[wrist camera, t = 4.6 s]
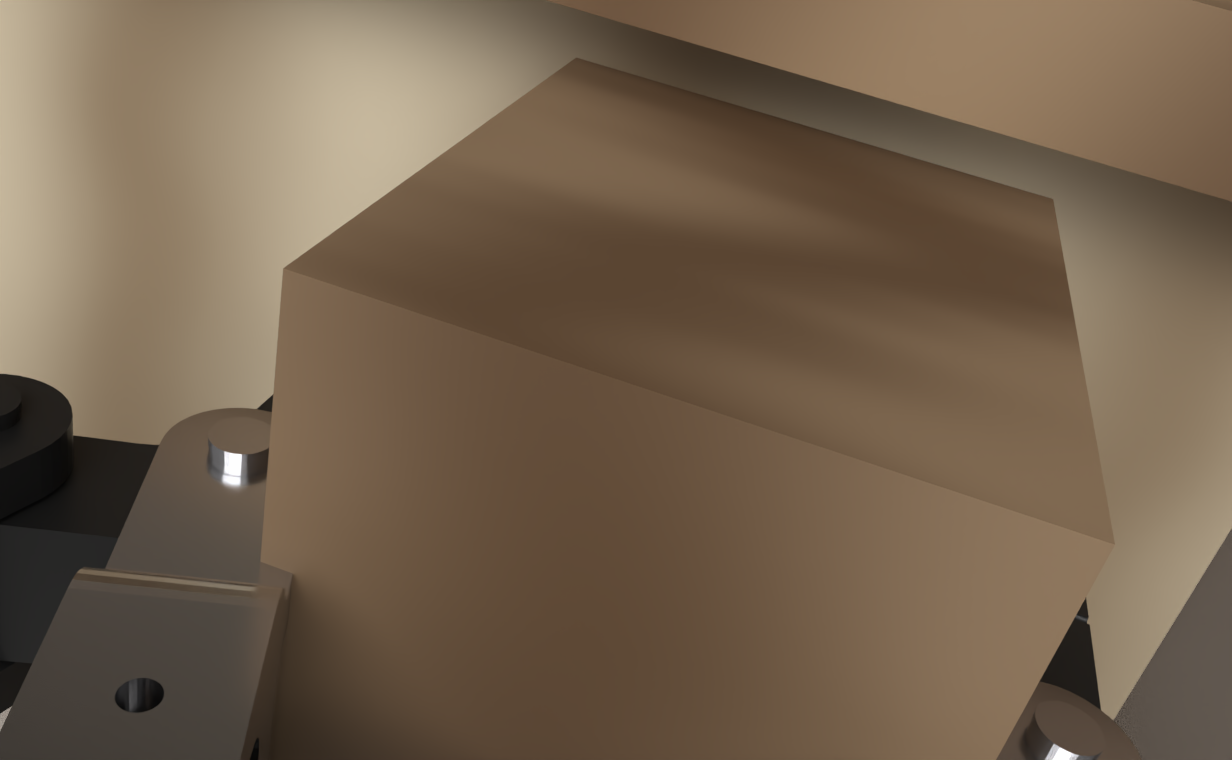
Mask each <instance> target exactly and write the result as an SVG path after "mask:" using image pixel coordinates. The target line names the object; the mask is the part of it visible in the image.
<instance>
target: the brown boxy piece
mask: <svg viewBox="0 0 1232 760" xmlns="http://www.w3.org/2000/svg"><path fill="white" fill-rule="evenodd" d="M1114 546H1115V542H1114V536H1113V530H1112V525H1111V519H1110V514H1109V508H1108V502H1107V497H1106V491H1105V486H1104V480H1103V475H1102V469H1101V463H1100V458H1099V452H1098V447H1097V441H1096V435H1095V430H1094V424H1093V419H1092V413H1091V408H1090V402H1089V396H1088V391H1087V385H1086V380H1085V374H1084V368H1083V363H1082V357H1081V352H1080V346H1079V341H1078V335H1077V329H1076V324H1075V318H1074V313H1073V307H1072V301H1071V296H1070V290H1069V285H1068V279H1067V274H1066V268H1065V262H1064V257H1063V251H1062V246H1061V240H1060V234H1059V229H1058V223H1057V218H1056V212H1055V207H1054V201H1053V199H1051V198H1048V197H1045V196H1041V195H1038V194H1035V193H1031V192H1028V191H1024V190H1021V189H1018V188H1014V187H1011V186H1008V185H1004V184H1001V183H997V182H994V181H991V180H987V179H984V178H981V177H977V176H974V175H970V174H967V173H964V172H960V171H957V170H954V169H950V168H947V167H944V166H940V165H937V164H933V163H930V162H927V161H923V160H920V159H917V158H913V157H910V156H906V155H903V154H900V153H896V152H893V151H890V150H886V149H883V148H879V147H876V146H873V145H869V144H866V143H863V142H859V141H856V140H853V139H849V138H846V137H842V136H839V135H836V134H832V133H829V132H826V131H822V130H819V129H815V128H812V127H809V126H805V125H802V124H799V123H795V122H792V121H788V120H785V119H782V118H778V117H775V116H772V115H768V114H765V113H762V112H758V111H755V110H751V109H748V108H745V107H741V106H738V105H735V104H731V103H728V102H724V101H721V100H718V99H714V98H711V97H708V96H704V95H701V94H697V93H694V92H691V91H687V90H684V89H681V88H677V87H674V86H671V85H667V84H664V83H660V82H657V81H654V80H650V79H647V78H644V77H640V76H637V75H633V74H630V73H627V72H623V71H620V70H617V69H613V68H610V67H606V66H603V65H600V64H596V63H593V62H590V61H586V60H583V59H580V58H575V59H573V60H572V61H571V62H569V63H568V64H566V65H565V66H564V67H562V68H561V69H560V70H558V71H557V72H555V73H554V74H553V75H551V76H550V77H548V78H547V79H546V80H544V81H543V82H541V83H540V84H539V85H537V86H536V87H535V88H533V89H532V90H530V91H529V92H528V93H526V94H525V95H523V96H522V97H521V98H519V99H518V100H516V101H515V102H514V103H512V104H511V105H509V106H508V107H507V108H505V109H504V110H503V111H501V112H500V113H498V114H497V115H496V116H494V117H493V118H491V119H490V120H489V121H487V122H486V123H484V124H483V125H482V126H480V127H479V128H478V129H476V130H475V131H473V132H472V133H471V134H469V135H468V136H466V137H465V138H464V139H462V140H461V141H459V142H458V143H457V144H455V145H454V146H452V147H451V148H450V149H448V150H447V151H446V152H444V153H443V154H441V155H440V156H439V157H437V158H436V159H434V160H433V161H432V162H430V163H429V164H427V165H426V166H425V167H423V168H422V169H421V170H419V171H418V172H416V173H415V174H414V175H412V176H411V177H409V178H408V179H407V180H405V181H404V182H402V183H401V184H400V185H398V186H397V187H395V188H394V189H393V190H391V191H390V192H389V193H387V194H386V195H384V196H383V197H382V198H380V199H379V200H377V201H376V202H375V203H373V204H372V205H370V206H369V207H368V208H366V209H365V210H364V211H362V212H361V213H359V214H358V215H357V216H355V217H354V218H352V219H351V220H350V221H348V222H347V223H345V224H344V225H343V226H341V227H340V228H338V229H337V230H336V231H334V232H333V233H332V234H330V235H329V236H327V237H326V238H325V239H323V240H322V241H320V242H319V243H318V244H316V245H315V246H313V247H312V248H311V249H309V250H308V251H307V252H305V253H304V254H302V255H301V256H300V257H298V258H297V259H295V260H294V261H293V262H291V263H290V264H288V265H287V266H286V267H284V268H283V276H282V289H281V302H280V315H279V328H278V340H277V353H276V366H275V379H274V392H273V405H272V418H271V431H270V444H269V457H268V470H267V482H266V495H265V508H264V521H263V534H262V547H261V560H260V562H263V563H266V564H268V565H271V566H274V567H276V568H279V569H282V570H285V571H287V572H290V573H293V580H292V590H291V601H290V611H289V621H288V626H287V630H286V635H285V639H284V644H283V649H282V655H281V660H280V666H279V672H278V679H277V686H276V694H275V704H274V715H273V726H272V736H271V747H270V758H269V760H996V759H997V757H998V755H999V754H1000V752H1001V750H1002V748H1003V746H1004V745H1005V743H1006V741H1007V739H1008V737H1009V736H1010V734H1011V732H1012V730H1013V728H1014V726H1015V725H1016V723H1017V721H1018V719H1019V717H1020V716H1021V714H1022V712H1023V710H1024V708H1025V707H1026V705H1027V703H1028V701H1029V699H1030V698H1031V696H1032V694H1033V692H1034V690H1035V689H1036V687H1037V685H1038V683H1039V681H1040V679H1041V678H1042V676H1043V674H1044V672H1045V670H1046V669H1047V667H1048V665H1049V663H1050V661H1051V660H1052V658H1053V656H1054V654H1055V652H1056V651H1057V649H1058V647H1059V645H1060V643H1061V642H1062V640H1063V638H1064V636H1065V634H1066V633H1067V631H1068V629H1069V627H1070V625H1071V623H1072V622H1073V620H1074V618H1075V616H1076V614H1077V613H1078V611H1079V609H1080V607H1081V605H1082V604H1083V602H1084V600H1085V598H1086V596H1087V595H1088V593H1089V591H1090V589H1091V587H1092V586H1093V584H1094V582H1095V580H1096V578H1097V576H1098V575H1099V573H1100V571H1101V569H1102V567H1103V566H1104V564H1105V562H1106V560H1107V558H1108V557H1109V555H1110V553H1111V551H1112V549H1113V548H1114Z"/></svg>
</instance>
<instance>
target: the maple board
mask: <svg viewBox="0 0 1232 760" xmlns="http://www.w3.org/2000/svg"><path fill="white" fill-rule="evenodd" d="M575 58H580V59H583V60H586V61H590V62H593V63H596V64H600V65H603V66H606V67H610V68H613V69H617V70H620V71H623V72H627V73H630V74H633V75H637V76H640V77H644V78H647V79H650V80H654V81H657V82H660V83H664V84H667V85H671V86H674V87H677V88H681V89H684V90H687V91H691V92H694V93H697V94H701V95H704V96H708V97H711V98H714V99H718V100H721V101H724V102H728V103H731V104H735V105H738V106H741V107H745V108H748V109H751V110H755V111H758V112H762V113H765V114H768V115H772V116H775V117H778V118H782V119H785V120H788V121H792V122H795V123H799V124H802V125H805V126H809V127H812V128H815V129H819V130H822V131H826V132H829V133H832V134H836V135H839V136H842V137H846V138H849V139H853V140H856V141H859V142H863V143H866V144H869V145H873V146H876V147H879V148H883V149H886V150H890V151H893V152H896V153H900V154H903V155H906V156H910V157H913V158H917V159H920V160H923V161H927V162H930V163H933V164H937V165H940V166H944V167H947V168H950V169H954V170H957V171H960V172H964V173H967V174H970V175H974V176H977V177H981V178H984V179H987V180H991V181H994V182H997V183H1001V184H1004V185H1008V186H1011V187H1014V188H1018V189H1021V190H1024V191H1028V192H1031V193H1035V194H1038V195H1041V196H1045V197H1048V198H1051V199H1053V201H1054V207H1055V212H1056V218H1057V223H1058V229H1059V234H1060V240H1061V246H1062V251H1063V257H1064V262H1065V268H1066V274H1067V279H1068V285H1069V290H1070V296H1071V301H1072V307H1073V313H1074V318H1075V324H1076V329H1077V335H1078V341H1079V346H1080V352H1081V357H1082V363H1083V368H1084V374H1085V380H1086V385H1087V391H1088V396H1089V402H1090V408H1091V413H1092V419H1093V424H1094V430H1095V435H1096V441H1097V447H1098V452H1099V458H1100V463H1101V469H1102V475H1103V480H1104V486H1105V491H1106V497H1107V502H1108V508H1109V514H1110V519H1111V525H1112V530H1113V536H1114V542H1115V546H1114V548H1113V549H1112V551H1111V553H1110V555H1109V557H1108V558H1107V560H1106V562H1105V564H1104V566H1103V567H1102V569H1101V571H1100V573H1099V575H1098V576H1097V578H1096V580H1095V582H1094V584H1093V586H1092V587H1091V589H1090V591H1089V593H1088V595H1087V596H1086V600H1087V608H1088V615H1089V618H1088V621H1087V624H1090V630H1091V638H1092V645H1093V653H1094V660H1095V668H1096V675H1097V683H1098V691H1099V698H1100V706H1101V711H1102V712H1104V713H1105V714H1106V715H1108V716H1109V717H1110V718H1111V719H1112V720H1114V718H1115V717H1116V715H1117V714H1118V712H1119V710H1120V709H1121V707H1122V705H1123V704H1124V702H1125V701H1126V699H1127V697H1128V696H1129V694H1130V692H1131V691H1132V689H1133V688H1134V686H1135V684H1136V683H1137V681H1138V679H1139V678H1140V676H1141V675H1142V673H1143V671H1144V670H1145V668H1146V666H1147V665H1148V663H1149V662H1150V660H1151V658H1152V657H1153V655H1154V653H1155V652H1156V650H1157V649H1158V647H1159V645H1160V644H1161V642H1162V640H1163V639H1164V637H1165V636H1166V634H1167V632H1168V631H1169V629H1170V627H1171V626H1172V624H1173V623H1174V621H1175V619H1176V618H1177V616H1178V615H1179V613H1180V611H1181V610H1182V608H1183V606H1184V605H1185V603H1186V602H1187V600H1188V598H1189V597H1190V595H1191V593H1192V592H1193V590H1194V589H1195V587H1196V585H1197V584H1198V582H1199V580H1200V579H1201V577H1202V576H1203V574H1204V572H1205V571H1206V569H1207V567H1208V566H1209V564H1210V563H1211V561H1212V559H1213V558H1214V556H1215V554H1216V553H1217V551H1218V550H1219V548H1220V546H1221V545H1222V543H1223V541H1224V540H1225V538H1226V537H1227V535H1228V533H1229V532H1230V530H1231V528H1232V0H0V374H10V375H19V376H23V377H28V378H32V379H35V380H38V381H41V382H44V383H46V384H48V385H50V386H52V387H54V388H55V389H57V390H58V391H60V392H61V393H62V394H63V395H64V396H65V397H66V398H67V399H68V401H69V403H70V405H71V407H72V413H73V435H75V436H83V437H91V438H99V439H107V440H115V441H123V442H131V443H139V444H151V445H160V442H161V440H162V439H163V437H164V435H165V434H166V433H167V432H168V431H169V430H170V429H171V428H172V427H173V426H174V425H176V424H177V423H179V422H180V421H182V420H184V419H186V418H188V417H190V416H192V415H195V414H198V413H201V412H205V411H210V410H215V409H224V408H250V409H257V408H258V407H259V406H261V405H262V404H263V403H264V402H265V401H266V400H267V399H268V398H270V397H271V396H272V395H273V392H274V379H275V366H276V353H277V340H278V328H279V315H280V302H281V289H282V276H283V268H284V267H286V266H287V265H288V264H290V263H291V262H293V261H294V260H295V259H297V258H298V257H300V256H301V255H302V254H304V253H305V252H307V251H308V250H309V249H311V248H312V247H313V246H315V245H316V244H318V243H319V242H320V241H322V240H323V239H325V238H326V237H327V236H329V235H330V234H332V233H333V232H334V231H336V230H337V229H338V228H340V227H341V226H343V225H344V224H345V223H347V222H348V221H350V220H351V219H352V218H354V217H355V216H357V215H358V214H359V213H361V212H362V211H364V210H365V209H366V208H368V207H369V206H370V205H372V204H373V203H375V202H376V201H377V200H379V199H380V198H382V197H383V196H384V195H386V194H387V193H389V192H390V191H391V190H393V189H394V188H395V187H397V186H398V185H400V184H401V183H402V182H404V181H405V180H407V179H408V178H409V177H411V176H412V175H414V174H415V173H416V172H418V171H419V170H421V169H422V168H423V167H425V166H426V165H427V164H429V163H430V162H432V161H433V160H434V159H436V158H437V157H439V156H440V155H441V154H443V153H444V152H446V151H447V150H448V149H450V148H451V147H452V146H454V145H455V144H457V143H458V142H459V141H461V140H462V139H464V138H465V137H466V136H468V135H469V134H471V133H472V132H473V131H475V130H476V129H478V128H479V127H480V126H482V125H483V124H484V123H486V122H487V121H489V120H490V119H491V118H493V117H494V116H496V115H497V114H498V113H500V112H501V111H503V110H504V109H505V108H507V107H508V106H509V105H511V104H512V103H514V102H515V101H516V100H518V99H519V98H521V97H522V96H523V95H525V94H526V93H528V92H529V91H530V90H532V89H533V88H535V87H536V86H537V85H539V84H540V83H541V82H543V81H544V80H546V79H547V78H548V77H550V76H551V75H553V74H554V73H555V72H557V71H558V70H560V69H561V68H562V67H564V66H565V65H566V64H568V63H569V62H571V61H572V60H573V59H575Z"/></svg>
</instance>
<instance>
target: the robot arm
mask: <svg viewBox="0 0 1232 760" xmlns="http://www.w3.org/2000/svg"><path fill="white" fill-rule="evenodd" d="M272 405H273V395H272V396H271V397H270V398H268V399H267V400H266V401H265V402H264V403H263V404H262V405H261V406H259V407H258V408H257V409H250V408H224V409H215V410H210V411H205V412H201V413H198V414H195V415H192V416H190V417H188V418H186V419H184V420H182V421H180V422H179V423H177V424H176V425H174V426H173V427H172V428H171V429H170V430H169V431H168V432H167V433H166V434H165V435H164V437H163V439H162V440H161V442H160V445H151V444H139V443H131V442H123V441H115V440H107V439H99V438H91V437H83V436H75V435H73V413H72V407H71V405H70V403H69V401H68V399H67V398H66V397H65V396H64V395H63V394H62V393H61V392H60V391H58V390H57V389H55V388H54V387H52V386H50V385H48V384H46V383H44V382H41V381H38V380H35V379H32V378H28V377H23V376H19V375H10V374H0V713H2V712H3V711H5V710H6V709H8V708H9V707H11V706H12V708H11V710H10V712H9V714H8V716H7V718H6V720H5V722H4V725H3V727H2V729H1V731H0V760H269V758H270V747H271V736H272V726H273V715H274V704H275V694H276V686H277V679H278V672H279V666H280V660H281V655H282V649H283V644H284V639H285V635H286V630H287V626H288V621H289V611H290V601H291V590H292V580H293V573H290V572H287V571H285V570H282V569H279V568H276V567H274V566H271V565H268V564H266V563H263V562H260V560H261V547H262V534H263V521H264V508H265V495H266V482H267V470H268V457H269V444H270V431H271V418H272ZM1088 618H1089V615H1088V608H1087V600H1086V598H1085V600H1084V602H1083V604H1082V605H1081V607H1080V609H1079V611H1078V613H1077V614H1076V616H1075V618H1074V620H1073V622H1072V623H1071V625H1070V627H1069V629H1068V631H1067V633H1066V634H1065V636H1064V638H1063V640H1062V642H1061V643H1060V645H1059V647H1058V649H1057V651H1056V652H1055V654H1054V656H1053V658H1052V660H1051V661H1050V663H1049V665H1048V667H1047V669H1046V670H1045V672H1044V674H1043V676H1042V678H1041V679H1040V681H1039V683H1038V685H1037V687H1036V689H1035V690H1034V692H1033V694H1032V696H1031V698H1030V699H1029V701H1028V703H1027V705H1026V707H1025V708H1024V710H1023V712H1022V714H1021V716H1020V717H1019V719H1018V721H1017V723H1016V725H1015V726H1014V728H1013V730H1012V732H1011V734H1010V736H1009V737H1008V739H1007V741H1006V743H1005V745H1004V746H1003V748H1002V750H1001V752H1000V754H999V755H998V757H997V759H996V760H1142V759H1141V757H1140V755H1139V753H1138V751H1137V749H1136V747H1135V746H1134V744H1133V743H1132V741H1131V740H1130V738H1129V737H1128V736H1127V735H1126V734H1125V732H1124V731H1123V730H1122V729H1121V728H1120V727H1119V726H1118V725H1117V724H1116V723H1115V722H1114V721H1113V720H1112V719H1111V718H1110V717H1109V716H1108V715H1106V714H1105V713H1104V712H1102V711H1101V706H1100V698H1099V691H1098V683H1097V675H1096V668H1095V660H1094V653H1093V645H1092V638H1091V630H1090V624H1087V621H1088Z"/></svg>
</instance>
